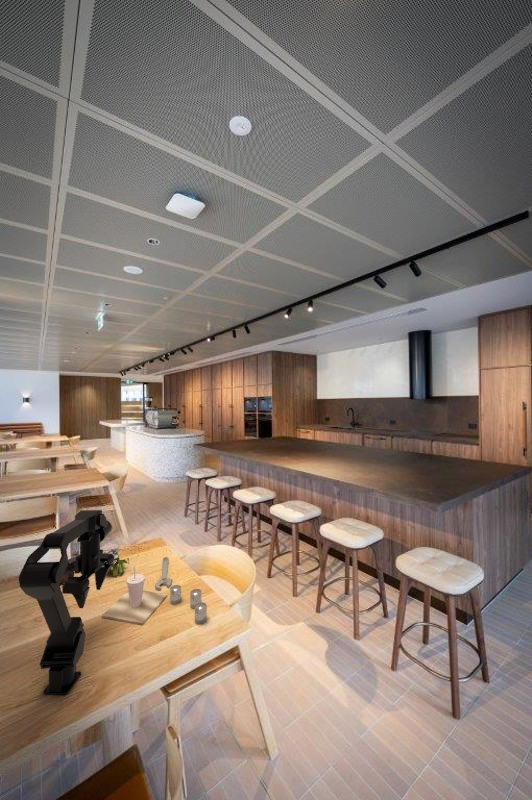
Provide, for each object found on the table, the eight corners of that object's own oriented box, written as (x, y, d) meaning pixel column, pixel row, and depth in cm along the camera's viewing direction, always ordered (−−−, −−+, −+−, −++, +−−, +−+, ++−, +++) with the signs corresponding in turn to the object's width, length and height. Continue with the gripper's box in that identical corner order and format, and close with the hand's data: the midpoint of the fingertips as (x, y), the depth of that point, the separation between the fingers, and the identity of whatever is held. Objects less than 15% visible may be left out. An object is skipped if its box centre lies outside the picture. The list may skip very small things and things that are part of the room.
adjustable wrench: (162, 560, 153) (162, 556, 153) (176, 559, 154) (176, 555, 154) (154, 592, 128) (154, 587, 128) (170, 590, 129) (170, 586, 129)
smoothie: (133, 598, 122) (132, 561, 122) (148, 600, 121) (148, 563, 121) (122, 609, 116) (122, 570, 116) (138, 611, 115) (138, 572, 115)
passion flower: (104, 585, 141) (94, 558, 144) (129, 571, 148) (119, 546, 152) (107, 581, 133) (97, 553, 137) (134, 567, 140) (124, 541, 144)
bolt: (73, 582, 137) (36, 601, 123) (66, 573, 139) (29, 592, 125) (78, 571, 136) (41, 590, 122) (71, 563, 138) (34, 580, 124)
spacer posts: (199, 626, 109) (199, 611, 109) (168, 601, 122) (168, 588, 122) (217, 614, 115) (217, 600, 115) (185, 592, 128) (185, 579, 127)
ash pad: (142, 625, 109) (142, 622, 109) (101, 617, 113) (101, 615, 113) (167, 596, 125) (167, 594, 125) (130, 590, 128) (130, 588, 128)
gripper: (83, 536, 112) (83, 580, 113) (43, 564, 94) (44, 617, 94) (114, 537, 112) (114, 581, 112) (81, 565, 93) (81, 619, 94)
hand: (90, 598), depth 103 cm, fingers open, 9 cm apart
